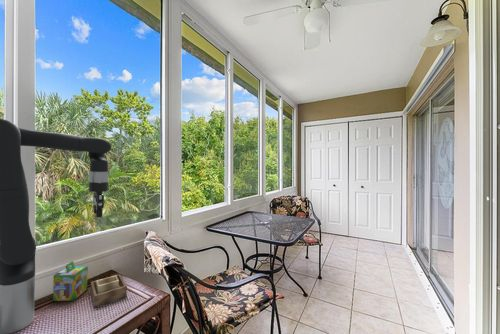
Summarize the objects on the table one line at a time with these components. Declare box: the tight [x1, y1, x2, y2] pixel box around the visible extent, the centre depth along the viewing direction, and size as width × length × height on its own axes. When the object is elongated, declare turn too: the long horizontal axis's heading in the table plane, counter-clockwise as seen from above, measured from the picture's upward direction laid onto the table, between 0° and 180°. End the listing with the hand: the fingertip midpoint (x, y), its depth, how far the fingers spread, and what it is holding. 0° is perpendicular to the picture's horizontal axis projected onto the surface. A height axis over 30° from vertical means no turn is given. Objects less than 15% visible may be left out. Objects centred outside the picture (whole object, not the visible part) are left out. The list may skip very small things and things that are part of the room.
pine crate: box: [95, 274, 119, 294], centre depth 100 cm, size 8×6×6 cm
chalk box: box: [52, 260, 89, 302], centre depth 99 cm, size 9×9×15 cm
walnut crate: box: [90, 274, 128, 309], centre depth 101 cm, size 12×14×5 cm
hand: (97, 215), depth 103 cm, fingers open, 8 cm apart
